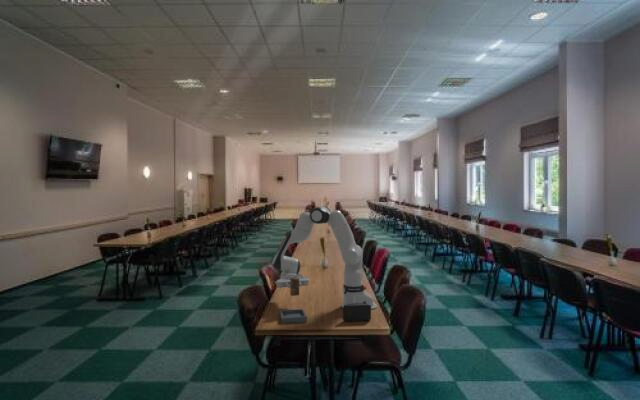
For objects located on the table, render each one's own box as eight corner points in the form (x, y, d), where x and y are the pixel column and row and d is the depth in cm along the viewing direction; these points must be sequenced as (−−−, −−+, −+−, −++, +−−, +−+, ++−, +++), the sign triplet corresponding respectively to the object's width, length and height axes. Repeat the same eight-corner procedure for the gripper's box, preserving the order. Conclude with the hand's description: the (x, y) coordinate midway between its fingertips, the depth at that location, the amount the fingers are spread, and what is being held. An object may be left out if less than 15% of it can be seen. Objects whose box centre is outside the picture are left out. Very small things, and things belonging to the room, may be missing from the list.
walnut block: (297, 293, 225) (297, 277, 225) (299, 295, 220) (299, 278, 220) (290, 293, 224) (290, 277, 223) (291, 295, 219) (291, 279, 219)
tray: (303, 313, 218) (303, 308, 218) (307, 322, 205) (307, 316, 205) (280, 315, 216) (280, 310, 216) (282, 323, 202) (282, 318, 202)
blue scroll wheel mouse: (369, 318, 212) (369, 302, 211) (371, 321, 207) (371, 304, 207) (341, 319, 210) (341, 303, 209) (343, 322, 205) (343, 305, 205)
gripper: (274, 276, 231) (278, 282, 218) (305, 274, 237) (310, 279, 224) (274, 286, 231) (278, 292, 218) (305, 284, 237) (311, 289, 224)
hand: (295, 285), depth 221 cm, fingers closed on walnut block, 4 cm apart
